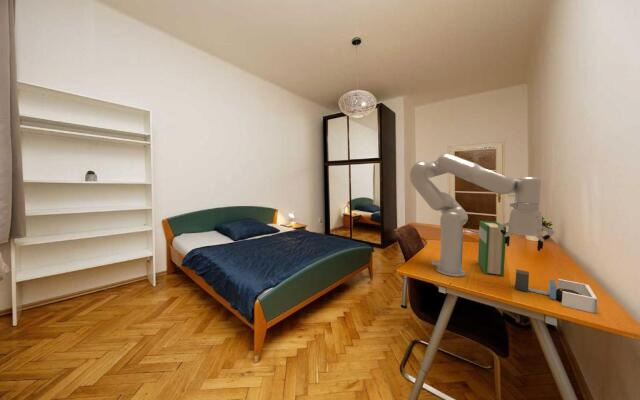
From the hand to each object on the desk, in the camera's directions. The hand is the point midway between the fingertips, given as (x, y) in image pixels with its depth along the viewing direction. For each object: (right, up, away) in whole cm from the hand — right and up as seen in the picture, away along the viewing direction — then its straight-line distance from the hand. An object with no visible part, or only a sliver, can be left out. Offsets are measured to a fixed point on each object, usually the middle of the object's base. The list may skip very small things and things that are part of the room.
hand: (522, 247), depth 96 cm
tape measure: (+9, -19, -10) cm, 23 cm away
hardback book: (+3, -16, +23) cm, 29 cm away
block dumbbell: (+3, -17, -2) cm, 18 cm away
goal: (+12, -18, -9) cm, 23 cm away
